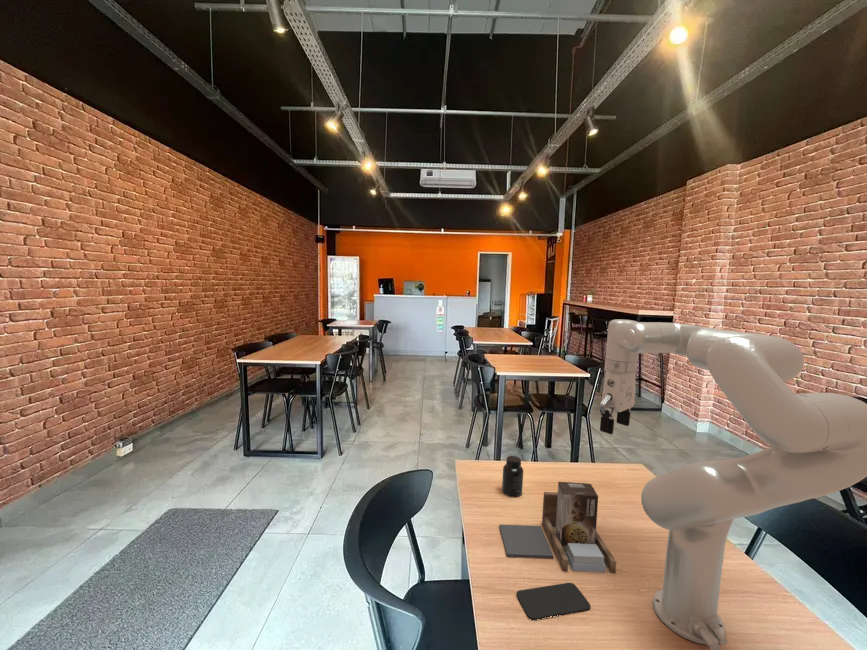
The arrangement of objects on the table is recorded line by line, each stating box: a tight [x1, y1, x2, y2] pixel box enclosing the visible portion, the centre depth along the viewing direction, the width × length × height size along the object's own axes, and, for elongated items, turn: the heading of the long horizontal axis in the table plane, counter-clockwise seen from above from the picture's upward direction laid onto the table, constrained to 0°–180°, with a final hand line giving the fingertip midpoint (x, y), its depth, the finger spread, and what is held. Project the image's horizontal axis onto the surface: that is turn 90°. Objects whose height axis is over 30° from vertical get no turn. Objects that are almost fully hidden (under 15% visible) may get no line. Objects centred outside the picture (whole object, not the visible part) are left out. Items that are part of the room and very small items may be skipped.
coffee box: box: [555, 481, 599, 551], centre depth 99 cm, size 9×6×16 cm
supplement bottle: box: [501, 455, 524, 498], centre depth 125 cm, size 7×7×12 cm
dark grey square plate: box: [498, 524, 555, 560], centre depth 100 cm, size 12×12×1 cm
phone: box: [515, 582, 591, 621], centre depth 81 cm, size 7×1×15 cm
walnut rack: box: [541, 491, 617, 574], centre depth 99 cm, size 18×13×10 cm
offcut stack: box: [565, 543, 607, 573], centre depth 93 cm, size 5×8×4 cm, turn 89°
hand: (614, 428), depth 99 cm, fingers open, 9 cm apart
